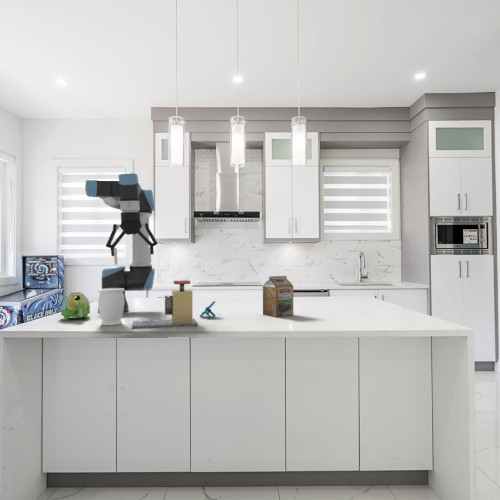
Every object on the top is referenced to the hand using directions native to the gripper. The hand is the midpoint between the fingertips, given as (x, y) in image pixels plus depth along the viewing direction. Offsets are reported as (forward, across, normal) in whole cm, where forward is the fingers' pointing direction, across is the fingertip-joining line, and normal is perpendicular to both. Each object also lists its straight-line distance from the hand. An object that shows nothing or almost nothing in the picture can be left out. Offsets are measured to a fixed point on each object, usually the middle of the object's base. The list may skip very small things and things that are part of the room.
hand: (133, 263), depth 162 cm
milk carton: (+31, +65, +14) cm, 73 cm away
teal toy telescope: (+29, +31, +14) cm, 45 cm away
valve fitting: (+26, +13, -2) cm, 29 cm away
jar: (+26, -11, +3) cm, 28 cm away
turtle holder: (+27, -29, +21) cm, 45 cm away
